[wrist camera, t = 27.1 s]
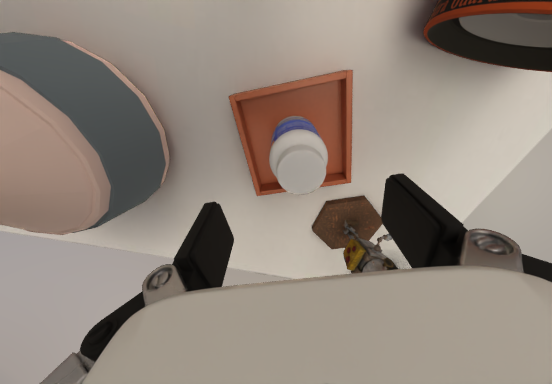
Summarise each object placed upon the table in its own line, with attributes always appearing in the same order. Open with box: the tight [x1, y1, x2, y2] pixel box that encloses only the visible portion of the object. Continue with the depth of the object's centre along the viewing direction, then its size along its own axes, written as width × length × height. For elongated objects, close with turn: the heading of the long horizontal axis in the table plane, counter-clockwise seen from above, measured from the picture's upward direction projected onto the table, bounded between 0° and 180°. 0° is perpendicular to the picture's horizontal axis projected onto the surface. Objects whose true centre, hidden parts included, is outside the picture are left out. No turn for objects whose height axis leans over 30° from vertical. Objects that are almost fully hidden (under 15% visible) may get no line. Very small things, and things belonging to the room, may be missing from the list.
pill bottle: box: [269, 116, 328, 195], centre depth 20 cm, size 5×5×10 cm
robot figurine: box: [312, 196, 393, 274], centre depth 26 cm, size 11×9×12 cm
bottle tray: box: [229, 70, 353, 196], centre depth 23 cm, size 12×12×3 cm
